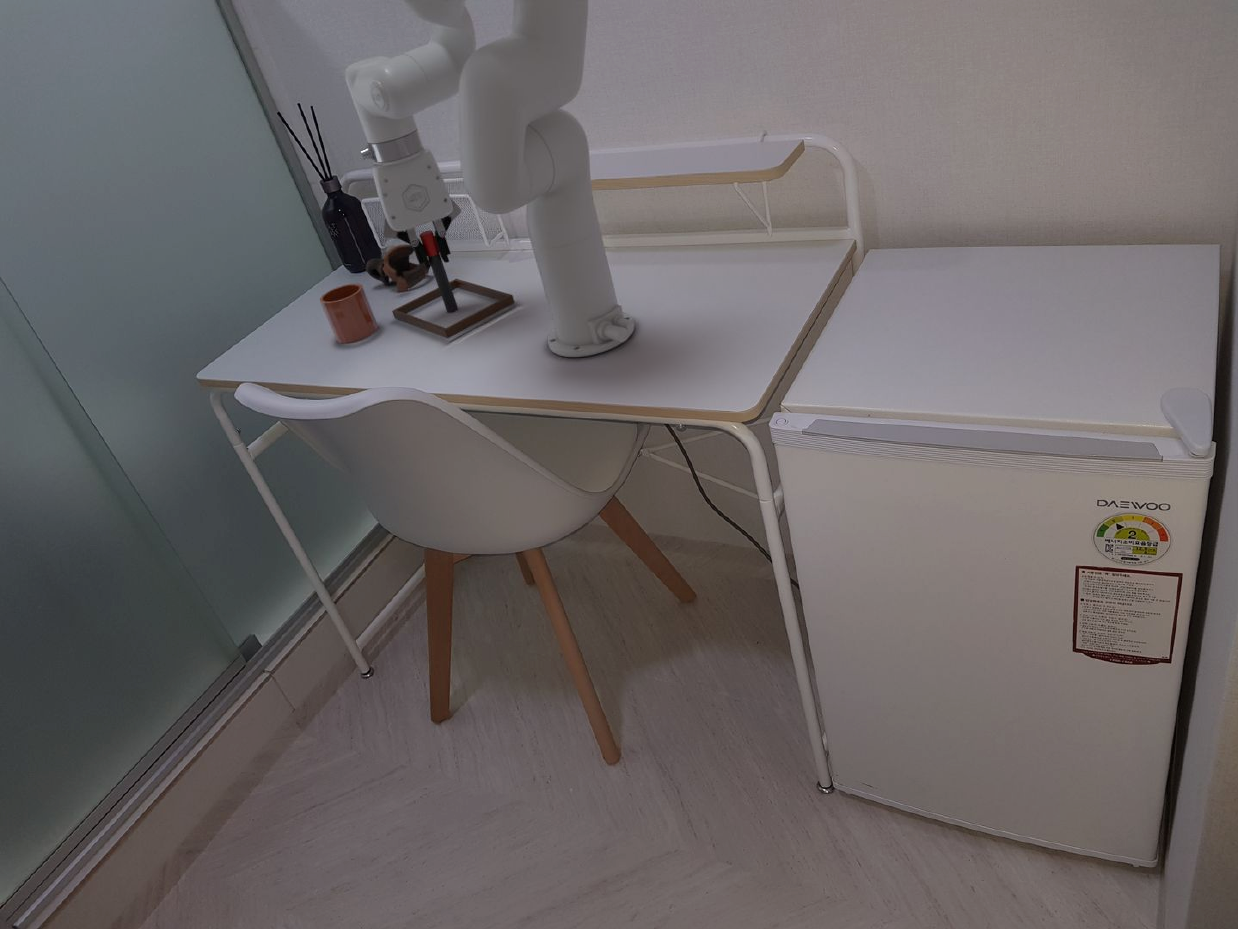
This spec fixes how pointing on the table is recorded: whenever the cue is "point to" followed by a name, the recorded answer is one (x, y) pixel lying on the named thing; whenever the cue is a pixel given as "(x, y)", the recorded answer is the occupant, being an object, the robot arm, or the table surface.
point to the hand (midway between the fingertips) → (436, 262)
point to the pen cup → (349, 313)
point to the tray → (463, 324)
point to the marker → (438, 270)
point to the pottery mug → (397, 268)
